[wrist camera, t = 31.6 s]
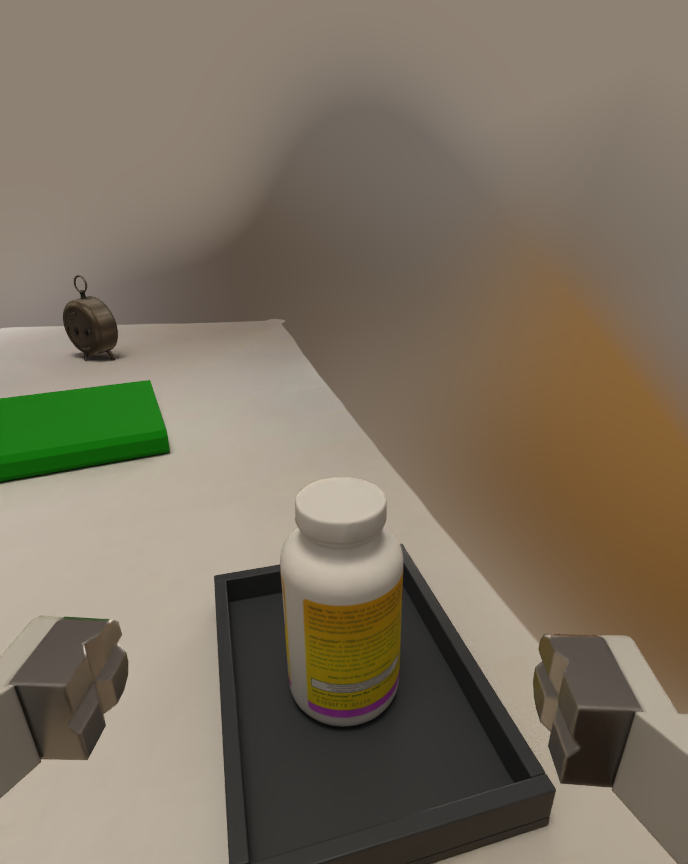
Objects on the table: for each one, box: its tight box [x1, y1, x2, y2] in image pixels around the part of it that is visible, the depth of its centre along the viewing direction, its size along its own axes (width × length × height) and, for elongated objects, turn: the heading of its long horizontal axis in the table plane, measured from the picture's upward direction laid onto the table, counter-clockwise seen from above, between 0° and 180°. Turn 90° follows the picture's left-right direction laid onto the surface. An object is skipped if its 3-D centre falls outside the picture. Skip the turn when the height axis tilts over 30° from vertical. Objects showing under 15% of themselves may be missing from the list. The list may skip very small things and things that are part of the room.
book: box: [0, 380, 170, 482], centre depth 66 cm, size 22×28×3 cm
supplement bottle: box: [280, 477, 403, 727], centre depth 29 cm, size 7×7×13 cm
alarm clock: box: [63, 275, 118, 361], centre depth 101 cm, size 11×5×16 cm, turn 61°
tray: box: [214, 544, 556, 864], centre depth 31 cm, size 20×15×3 cm
